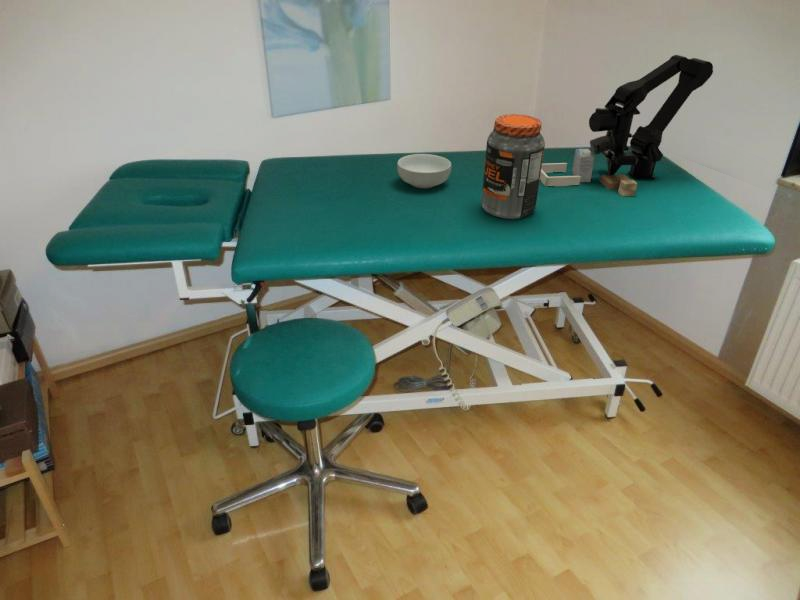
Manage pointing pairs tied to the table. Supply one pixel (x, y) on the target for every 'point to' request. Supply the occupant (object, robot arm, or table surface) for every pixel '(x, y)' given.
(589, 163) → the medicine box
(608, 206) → the table surface
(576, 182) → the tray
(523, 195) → the supplement tub
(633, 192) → the beech block
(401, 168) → the cereal bowl
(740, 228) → the table surface
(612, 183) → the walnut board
